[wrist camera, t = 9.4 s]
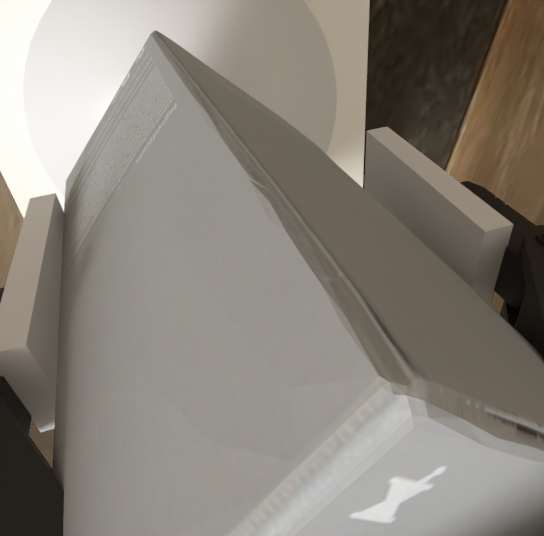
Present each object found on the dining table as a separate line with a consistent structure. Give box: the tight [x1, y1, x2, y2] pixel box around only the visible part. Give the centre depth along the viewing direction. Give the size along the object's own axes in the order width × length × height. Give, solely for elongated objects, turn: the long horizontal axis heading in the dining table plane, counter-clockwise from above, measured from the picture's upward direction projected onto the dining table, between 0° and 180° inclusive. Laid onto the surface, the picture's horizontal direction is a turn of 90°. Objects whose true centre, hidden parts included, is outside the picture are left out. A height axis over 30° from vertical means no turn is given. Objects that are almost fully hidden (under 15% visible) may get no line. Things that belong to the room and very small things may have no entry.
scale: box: [0, 0, 370, 218], centre depth 23 cm, size 18×17×5 cm
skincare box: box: [53, 31, 544, 536], centre depth 12 cm, size 8×7×16 cm
